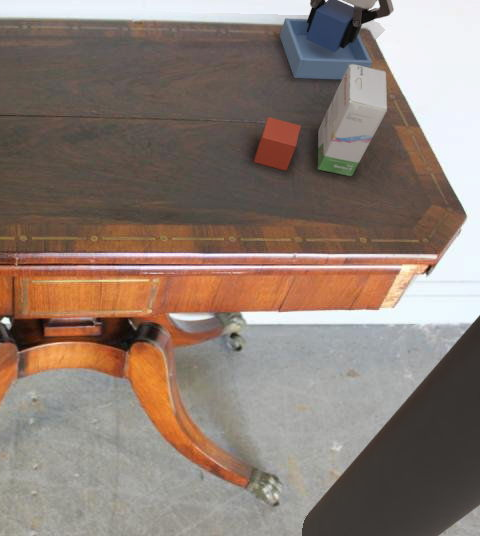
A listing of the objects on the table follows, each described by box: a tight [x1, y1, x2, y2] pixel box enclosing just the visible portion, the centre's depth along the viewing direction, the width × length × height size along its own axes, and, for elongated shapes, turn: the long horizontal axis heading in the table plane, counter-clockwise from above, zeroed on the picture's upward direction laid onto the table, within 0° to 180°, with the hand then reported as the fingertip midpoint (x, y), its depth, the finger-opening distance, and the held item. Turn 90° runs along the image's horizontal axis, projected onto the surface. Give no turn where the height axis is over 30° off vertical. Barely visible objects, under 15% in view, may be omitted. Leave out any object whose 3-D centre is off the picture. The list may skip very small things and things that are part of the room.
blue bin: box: [279, 17, 373, 81], centre depth 113 cm, size 11×11×3 cm
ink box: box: [316, 64, 388, 177], centre depth 95 cm, size 9×5×12 cm, turn 167°
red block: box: [253, 116, 302, 172], centre depth 97 cm, size 4×4×4 cm
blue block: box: [306, 0, 354, 52], centre depth 110 cm, size 5×5×5 cm
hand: (329, 35), depth 111 cm, fingers closed on blue block, 5 cm apart
